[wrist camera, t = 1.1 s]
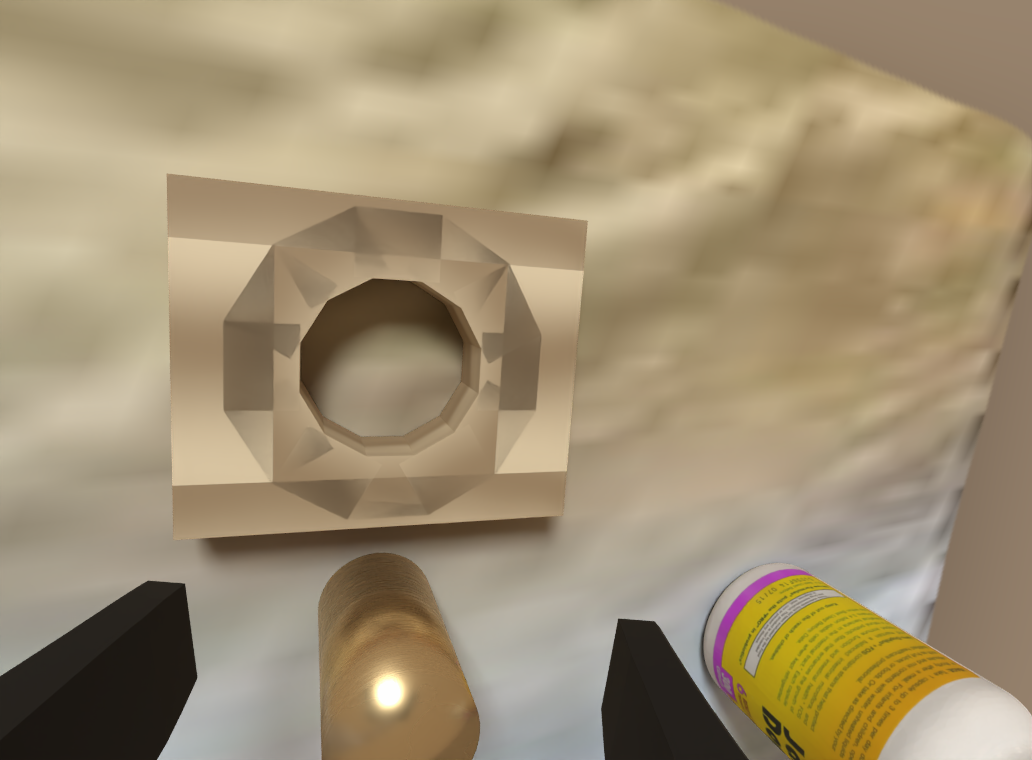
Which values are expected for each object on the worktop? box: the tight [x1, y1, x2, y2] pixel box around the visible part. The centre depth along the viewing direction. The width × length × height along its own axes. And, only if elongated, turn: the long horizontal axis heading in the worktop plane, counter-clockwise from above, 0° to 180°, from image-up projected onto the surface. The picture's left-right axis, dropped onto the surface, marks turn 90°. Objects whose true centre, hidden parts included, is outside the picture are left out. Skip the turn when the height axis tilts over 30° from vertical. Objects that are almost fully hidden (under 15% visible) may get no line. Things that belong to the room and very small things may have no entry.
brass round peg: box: [318, 553, 480, 760], centre depth 19 cm, size 4×4×7 cm
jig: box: [167, 174, 588, 540], centre depth 19 cm, size 10×12×2 cm
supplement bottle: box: [704, 563, 1032, 760], centre depth 22 cm, size 7×7×13 cm
